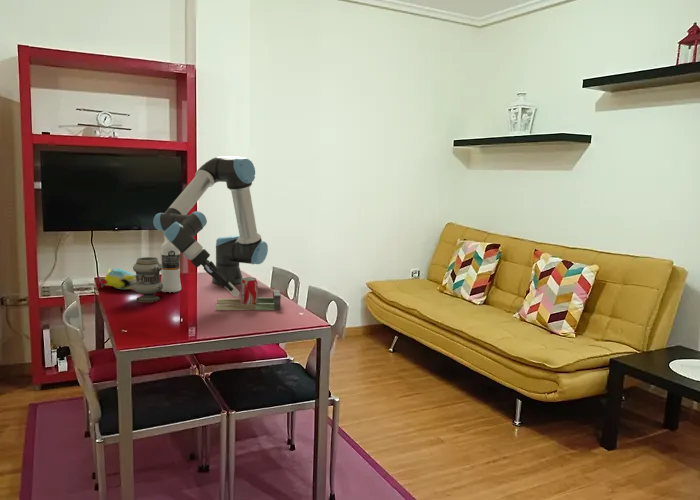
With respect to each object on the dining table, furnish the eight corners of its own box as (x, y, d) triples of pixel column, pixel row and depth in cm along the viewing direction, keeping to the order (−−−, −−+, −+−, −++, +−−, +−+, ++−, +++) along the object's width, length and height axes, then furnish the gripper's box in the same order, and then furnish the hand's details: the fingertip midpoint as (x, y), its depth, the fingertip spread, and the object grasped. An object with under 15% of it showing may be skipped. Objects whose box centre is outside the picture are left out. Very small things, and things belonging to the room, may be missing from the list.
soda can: (254, 309, 233) (254, 280, 231) (237, 308, 234) (238, 279, 232) (259, 305, 240) (260, 277, 238) (243, 304, 241) (243, 276, 239)
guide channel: (217, 303, 241) (217, 289, 240) (278, 303, 245) (278, 289, 245) (215, 310, 229) (215, 295, 228) (280, 309, 234) (280, 295, 233)
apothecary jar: (132, 297, 245) (132, 256, 243) (161, 296, 250) (161, 255, 247) (133, 303, 234) (133, 260, 232) (164, 302, 239) (164, 260, 236)
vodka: (181, 288, 266) (181, 225, 262) (180, 292, 258) (180, 227, 254) (160, 288, 264) (160, 224, 260) (159, 293, 255) (159, 227, 251)
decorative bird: (129, 295, 250) (129, 274, 248) (84, 285, 264) (84, 266, 263) (154, 290, 262) (154, 270, 260) (110, 281, 276) (110, 262, 275)
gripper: (191, 258, 236) (231, 298, 241) (188, 263, 223) (230, 305, 228) (204, 246, 236) (244, 285, 241) (202, 250, 223) (244, 292, 229)
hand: (237, 295), depth 235 cm, fingers closed
